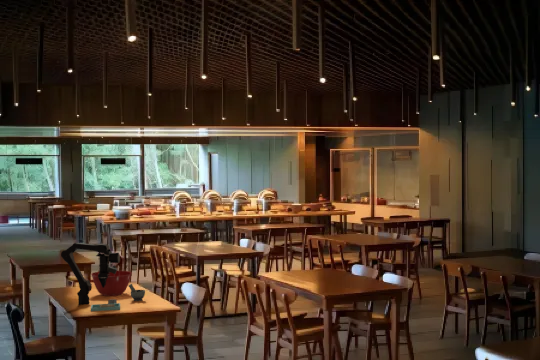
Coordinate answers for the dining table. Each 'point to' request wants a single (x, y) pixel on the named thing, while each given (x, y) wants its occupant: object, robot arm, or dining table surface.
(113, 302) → the grey cup
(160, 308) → the dining table surface
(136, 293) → the mortar and pestle
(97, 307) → the teal tray
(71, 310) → the dining table surface
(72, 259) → the robot arm
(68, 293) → the dining table surface
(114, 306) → the birch pin
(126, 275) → the mixing bowl
